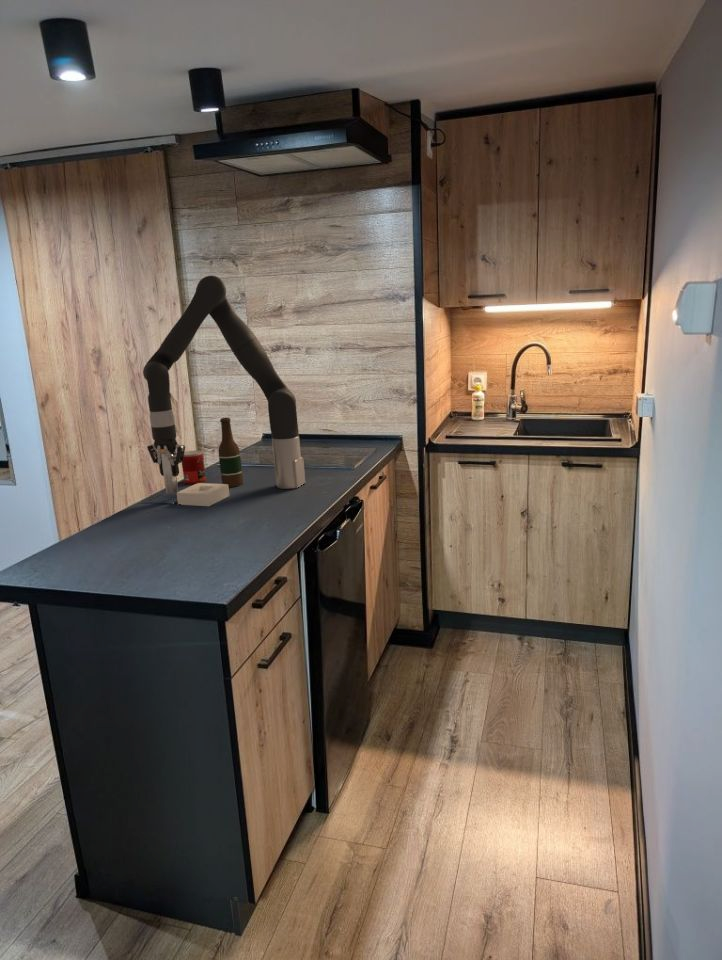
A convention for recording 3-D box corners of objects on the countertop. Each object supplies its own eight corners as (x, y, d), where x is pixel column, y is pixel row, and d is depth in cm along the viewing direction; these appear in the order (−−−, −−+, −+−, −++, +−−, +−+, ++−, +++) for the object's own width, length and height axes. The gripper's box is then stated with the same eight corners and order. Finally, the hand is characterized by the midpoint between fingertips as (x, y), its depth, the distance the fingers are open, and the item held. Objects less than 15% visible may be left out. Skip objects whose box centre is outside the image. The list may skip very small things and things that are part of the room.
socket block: (229, 495, 226) (228, 484, 225) (208, 506, 216) (207, 494, 215) (199, 494, 231) (198, 482, 230) (178, 504, 220) (176, 492, 219)
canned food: (203, 483, 245) (199, 454, 242) (181, 485, 245) (177, 455, 243) (208, 478, 252) (204, 449, 250) (187, 479, 253) (183, 451, 250)
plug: (181, 490, 225) (175, 446, 221) (173, 494, 221) (167, 449, 217) (171, 490, 226) (165, 446, 222) (163, 493, 223) (157, 449, 219)
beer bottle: (246, 481, 244) (239, 415, 238) (240, 487, 236) (232, 419, 230) (225, 482, 245) (217, 416, 239) (219, 488, 237) (210, 420, 231)
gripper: (188, 422, 219) (194, 473, 223) (152, 421, 224) (159, 472, 228) (173, 426, 212) (180, 479, 216) (137, 426, 217) (145, 477, 222)
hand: (169, 475), depth 222 cm, fingers closed on plug, 4 cm apart
